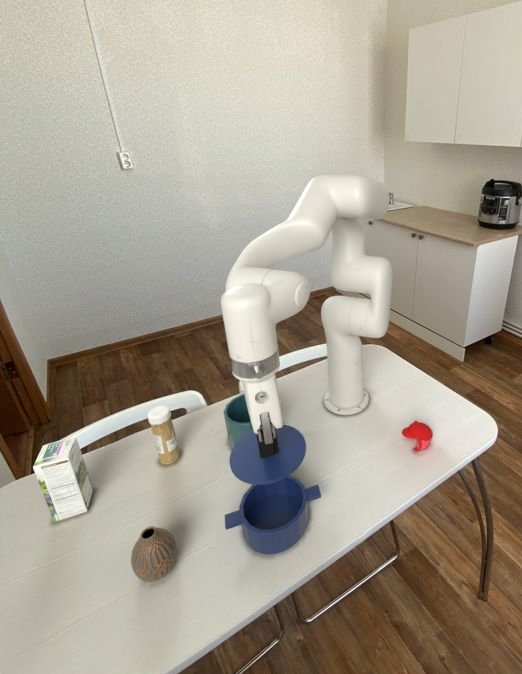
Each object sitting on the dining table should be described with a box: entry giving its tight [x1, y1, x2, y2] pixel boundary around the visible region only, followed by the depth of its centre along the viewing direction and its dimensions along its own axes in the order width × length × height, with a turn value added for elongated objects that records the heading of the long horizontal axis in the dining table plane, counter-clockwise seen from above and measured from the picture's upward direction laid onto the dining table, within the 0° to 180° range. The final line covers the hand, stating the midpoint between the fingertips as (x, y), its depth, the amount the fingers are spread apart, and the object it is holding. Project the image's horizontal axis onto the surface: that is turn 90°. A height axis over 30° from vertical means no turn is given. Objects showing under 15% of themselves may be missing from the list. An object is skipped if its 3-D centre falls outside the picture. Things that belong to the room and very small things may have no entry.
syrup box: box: [32, 437, 94, 523], centre depth 76 cm, size 6×6×14 cm
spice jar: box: [147, 404, 181, 466], centre depth 87 cm, size 5×5×14 cm
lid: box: [229, 423, 307, 485], centre depth 68 cm, size 13×13×7 cm
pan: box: [224, 474, 322, 555], centre depth 73 cm, size 12×18×5 cm
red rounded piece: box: [401, 420, 434, 453], centre depth 91 cm, size 8×6×6 cm
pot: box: [223, 393, 253, 450], centre depth 94 cm, size 12×12×9 cm
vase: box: [130, 525, 178, 583], centre depth 65 cm, size 7×7×9 cm
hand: (267, 446), depth 68 cm, fingers closed on lid, 2 cm apart
